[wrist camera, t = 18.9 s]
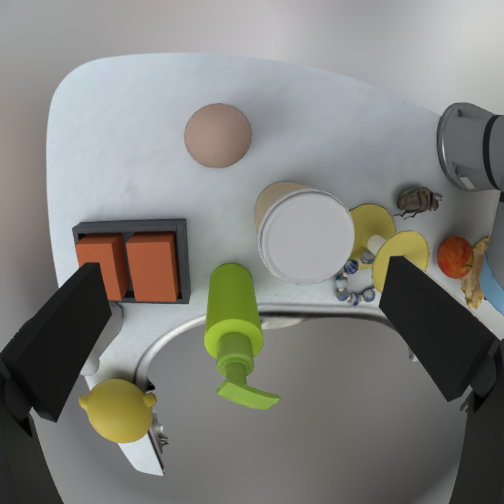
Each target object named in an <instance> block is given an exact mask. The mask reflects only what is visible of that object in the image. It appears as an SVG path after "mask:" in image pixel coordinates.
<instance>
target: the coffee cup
mask: <svg viewBox="0 0 504 504" xmlns="http://www.w3.org/2000/svg"><path fill="white" fill-rule="evenodd" d="M255 220H256V228H257V235H258V249H259V253H260V257H261V259H262V261H263V263H264V264H265V266H266V267H267V269H268V270H269V271H270V272H271V273H272V274H273V275H274V276H276V277H277V278H279V279H281V280H283V281H285V282H288V283H292V284H296V285H312V284H316V283H320V282H322V281H325V280H327V279H329V278H330V277H332V276H333V275H335V274H336V273H337V272H338V271H339V270H340V269H341V268H342V267H343V266H344V265H345V263H346V262H347V260H348V258H349V256H350V254H351V252H352V249H353V245H354V237H355V232H354V223H353V219H352V216H351V214H350V212H349V210H348V209H347V207H346V206H345V204H344V203H343V202H342V201H341V200H340V199H338V198H337V197H336V196H334V195H333V194H331V193H329V192H326V191H323V190H319V189H314V188H311V187H308V186H305V185H302V184H298V183H295V182H290V181H281V182H276V183H274V184H272V185H270V186H268V187H267V188H265V189H264V190H263V191H262V193H261V194H260V195H259V197H258V199H257V201H256V205H255Z"/></svg>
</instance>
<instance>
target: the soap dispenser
mask: <svg viewBox="0 0 504 504" xmlns="http://www.w3.org/2000/svg"><path fill="white" fill-rule="evenodd" d="M204 343H205V347H206V349H207V351H208V353H209V354H210V355H211V356H212V357H214V358H215V359H217V362H216V365H217V370H218V372H219V373H220V374H221V375H223V376H224V377H226V380H225V381H224V382H223V383H222V384H221V385H220V386H219V387H218V388H217V394H218V395H220V396H222V397H224V398H226V399H229V400H231V401H233V402H236V403H238V404H241V405H244V406H247V407H251V408H255V409H265V410H266V409H269V408H270V407H272V406H273V405H274V404H275V403H276V402H278V401H279V400H280V399H281V398H280V397H279V396H278V395H277V394H271V393H267V392H263V391H261V390H258V389H255V388H253V387H250V386H248V385H247V384H246V376H248V375H249V374H250V373H251V372H252V371H253V368H254V362H253V357H254V356H256V355H257V354H258V353H259V352H260V350H261V348H262V345H263V335H262V329H261V324H260V319H259V314H258V308H257V303H256V298H255V293H254V288H253V282H252V278H251V275H250V273H249V272H248V270H247V269H245V268H244V267H243V266H241V265H238V264H232V263H230V264H224V265H222V266H220V267H218V268H217V269H216V270H215V271H214V272H213V273H212V275H211V278H210V286H209V295H208V305H207V316H206V327H205V338H204Z"/></svg>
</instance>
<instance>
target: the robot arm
mask: <svg viewBox="0 0 504 504" xmlns="http://www.w3.org/2000/svg"><path fill="white" fill-rule="evenodd" d="M437 143H438V153H439V158H440V162H441V165H442V168H443V170H444V172H445V174H446V176H447V178H448V179H449V180H450V182H451V183H452V184H453V185H455V186H456V187H458V188H460V189H463V190H466V191H482V190H491V189H497V190H500V191H501V192H500V198H499V203H498V208H497V212H496V217H495V221H494V225H493V229H492V233H491V237H490V241H489V244H488V247H487V250H486V251H485V253H484V261H483V265H482V268H481V272H480V275H479V283H480V287H481V289H482V291H483V294H484V295H485V297H486V298H487V300H488V301H489V302H490V303H491V304H492V305H493V307H494V308H495V309H496V310H497V311H499V312H500V313H501V314H502V315H503V316H504V115H495V114H493V113H491V112H489V111H487V110H484V109H482V108H480V107H478V106H476V105H473V104H470V103H454V104H452V105H451V106H449V107H448V108H447V109H446V110H445V112H444V113H443V115H442V117H441V120H440V123H439V128H438V136H437ZM379 308H380V309H381V310H382V311H383V313H384V314H385V315H386V317H387V318H388V319H389V321H390V322H391V323H392V324H393V326H394V327H395V328H396V330H397V331H398V332H399V334H400V335H401V336H402V338H403V339H404V340H405V342H406V343H407V344H408V346H409V347H410V348H411V350H412V351H413V353H414V354H415V355H416V357H417V358H418V359H419V361H420V362H421V363H422V365H423V367H424V368H425V369H426V371H427V372H428V374H429V375H430V376H431V378H432V379H433V381H434V382H435V384H436V385H437V387H438V388H439V390H440V391H441V393H442V394H443V396H444V397H445V399H446V400H447V402H450V401H452V400H454V399H456V398H458V397H461V396H462V395H463V393H464V391H465V390H466V389H467V387H468V385H469V384H470V386H471V387H472V388H473V390H472V391H471V393H470V395H469V396H468V397H467V398H466V400H465V401H464V403H463V404H462V406H461V408H460V411H462V410H463V409H464V407H465V406H466V405H468V408H467V409H466V411H465V412H467V422H466V430H465V437H464V443H463V449H462V454H461V459H460V465H459V469H458V473H457V477H456V481H455V485H454V488H453V492H452V496H451V499H450V502H449V504H504V339H502V340H501V341H500V340H499V339H498V338H497V337H496V336H495V335H494V334H493V333H492V332H491V331H490V330H489V329H488V328H487V327H486V326H485V325H484V324H483V323H482V322H481V321H479V319H478V318H477V317H476V316H473V314H472V313H471V312H470V311H469V310H468V309H467V308H466V307H464V306H462V305H461V304H460V303H459V302H458V301H457V300H456V299H455V298H453V297H452V296H451V295H450V294H449V293H448V292H447V291H445V290H444V289H443V288H442V287H441V286H440V285H438V284H437V283H436V282H435V281H434V280H432V279H431V278H430V277H429V276H428V275H426V274H425V273H424V272H423V271H421V270H420V269H419V268H418V267H417V266H415V265H414V264H413V263H412V262H410V261H409V260H408V259H406V258H405V257H404V256H390V259H389V264H388V269H387V273H386V278H385V282H384V287H383V291H382V295H381V299H380V303H379ZM111 316H112V312H111V308H110V305H109V301H108V297H107V293H106V289H105V285H104V281H103V276H102V272H101V267H100V263H99V262H85V263H84V264H83V265H82V266H81V267H80V268H79V269H78V270H77V271H76V272H75V273H74V274H73V275H72V276H71V277H70V278H69V279H68V280H67V281H66V282H65V283H64V284H63V285H62V286H61V287H60V288H59V290H58V291H57V292H56V293H55V294H54V295H53V296H52V297H51V298H50V299H49V300H48V301H47V302H46V304H45V305H44V306H43V307H42V308H41V309H40V310H39V311H38V312H37V313H36V315H35V316H34V317H32V318H31V319H30V320H28V321H27V322H25V324H24V325H23V326H22V327H21V328H20V329H19V332H17V333H16V334H15V336H14V338H13V339H11V341H10V342H9V343H8V344H7V345H6V347H5V348H4V349H3V350H2V352H1V353H0V504H64V503H63V501H62V499H61V497H60V495H59V493H58V490H57V488H56V486H55V483H54V481H53V479H52V476H51V474H50V471H49V468H48V466H47V463H46V460H45V457H44V454H43V452H42V449H41V445H40V442H39V439H38V435H37V432H36V428H35V424H34V420H33V418H32V416H31V415H30V413H29V411H30V409H31V408H32V407H33V408H34V410H35V411H36V412H37V413H38V415H39V416H40V417H41V418H44V419H47V420H50V421H53V422H57V420H58V418H59V416H60V414H61V411H62V409H63V407H64V405H65V403H66V401H67V398H68V396H69V394H70V392H71V390H72V388H73V386H74V384H75V382H76V380H77V378H78V376H79V374H80V372H81V370H82V368H83V366H84V364H85V362H86V360H87V359H88V357H89V355H90V353H91V351H92V349H93V347H94V346H95V344H96V342H97V340H98V338H99V337H100V335H101V333H102V331H103V329H104V328H105V326H106V324H107V322H108V321H109V319H110V317H111Z"/></svg>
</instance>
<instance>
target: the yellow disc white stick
mask: <svg viewBox="0 0 504 504" xmlns="http://www.w3.org/2000/svg"><path fill="white" fill-rule="evenodd" d="M350 214H351V216H352V219H353V223H354V232H355V237H354V245H353V249H352V252H351V254H350V256H349V258H348V260H349V259H353V260H355V261H356V262H357V259H361V255H362V253H363V252H364V251H371V252H372V253H373V254H374V255H375V256H376V257H375V259H374V262H373V263H372V264H371V265H365V264H363V263H362V264H361V265H358V269H365V268H371V267H372V280H373V283H374V286H375V288H376V289H377V290H378V291H379V292H380V293H381V294H382V291H383V287H384V282H385V278H386V273H387V269H388V264H389V259H390V256H404V257H405V258H406V259H408V260H409V261H410V262H412V263H413V264H414V265H415V266H417V267H418V268H419V269H420V270H421V271H423V272H424V273H425V274H426V275H428V276H429V277H430V278H431V279H432V280H434V281H435V282H436V283H437V284H438V285H440V286H441V287H442V288H443V289H444V290H445V291H447V292H448V293H449V294H450V295H451V296H452V297H453V298H455V299H456V300H457V301H458V302H459V303H460V304H461V305H462V306H464V307H466V308H467V309H468V310H469V311H470V312H471V313H472V314H473V316H476V317H477V318H478V319H479V321H481V322H482V323H483V324H484V325H485V326H486V327H487V328H488V329H489V330H490V331H491V332H492V333H493V331H492V328H491V327H490V326H489V325H487V324H486V323H485V322H484V321H483V320H482V319H481V318H480V317H479V316H478V315H477V314H475V313H474V312H473V311H472V310H471V309H470V308H469V307H467V306H466V305H465V304H464V303H463V302H462V301H461V300H459V299H458V298H457V297H456V296H455V295H454V294H452V293H451V292H450V291H449V290H448V289H446V288H445V287H444V286H443V285H442V284H440V283H439V282H438V281H437V280H435V279H434V278H433V277H432V276H430V275H429V274H428V273H427V272H425V271H426V269H427V267H428V261H429V255H430V254H429V248H428V243H427V242H426V240H425V239H424V238H423V236H422V235H421V234H419V233H417V232H414V231H412V230H409V231H402V232H398V233H396V234H395V225H394V222H393V219H392V216H391V215H390V214H389V213H388V212H387V211H386V209H385V208H383V207H380V206H378V205H375V204H366V205H360V206H359V207H357V208H355V209H353V210H352V211H350Z"/></svg>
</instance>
